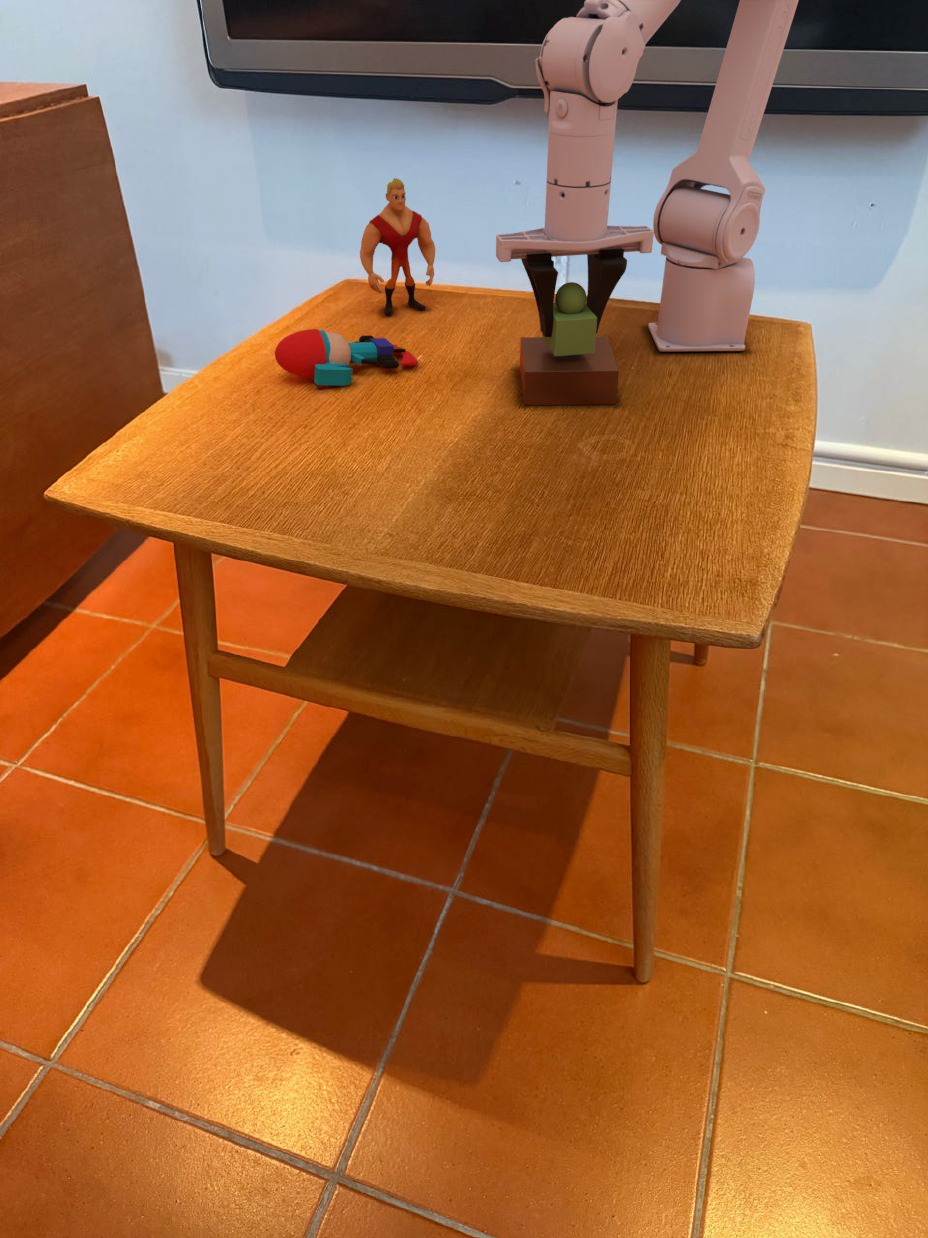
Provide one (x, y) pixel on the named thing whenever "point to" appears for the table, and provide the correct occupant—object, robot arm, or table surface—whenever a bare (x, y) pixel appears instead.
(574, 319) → the green toy
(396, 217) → the action figure
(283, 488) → the table surface
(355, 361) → the toy figure
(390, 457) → the table surface
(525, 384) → the walnut block
